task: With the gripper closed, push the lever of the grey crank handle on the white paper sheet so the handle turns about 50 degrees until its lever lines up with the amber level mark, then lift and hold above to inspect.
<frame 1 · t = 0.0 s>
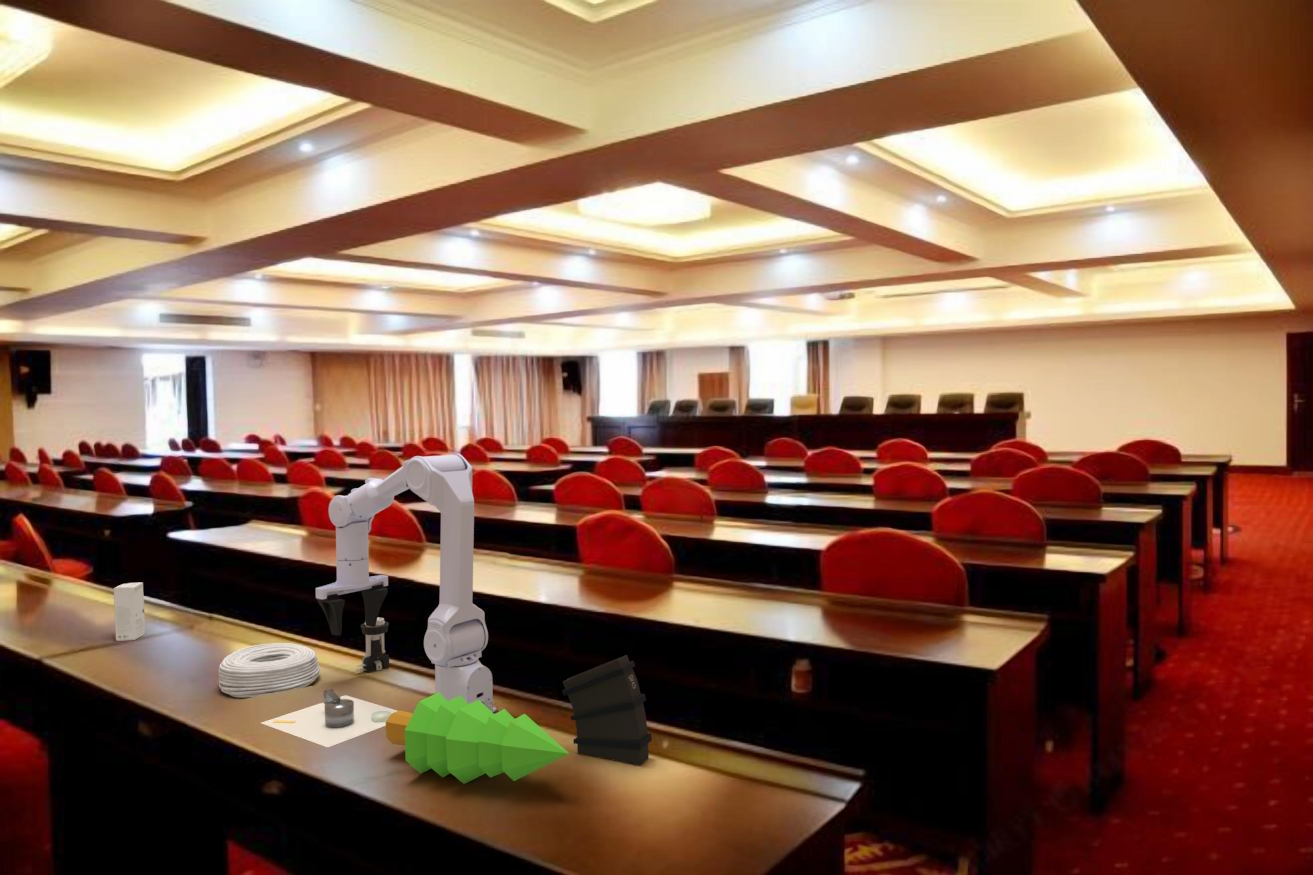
hand: (353, 630, 160), 10 cm above the table, fingers open, 7 cm apart
grey crank handle: (335, 707, 139), point 3 cm above the table, hinge at -50.0°
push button: (372, 670, 169), on the table
cable: (271, 686, 161), on the table
magazine: (606, 755, 127), on the table
white paper sheet: (337, 724, 139), on the table
skincare box: (130, 638, 194), on the table
decorative tree: (474, 781, 119), on the table
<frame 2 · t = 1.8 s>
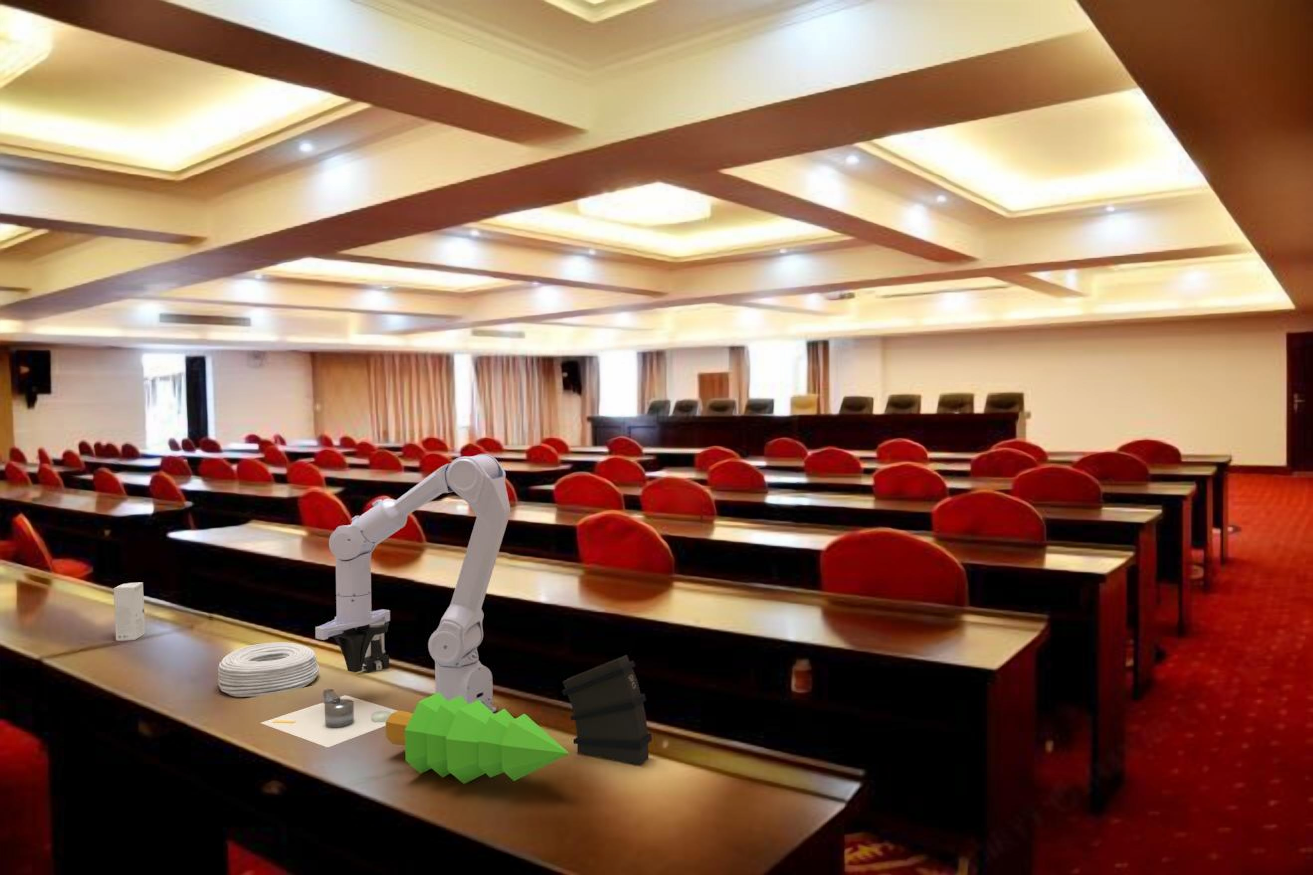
hand: (354, 670, 148), 6 cm above the table, fingers closed
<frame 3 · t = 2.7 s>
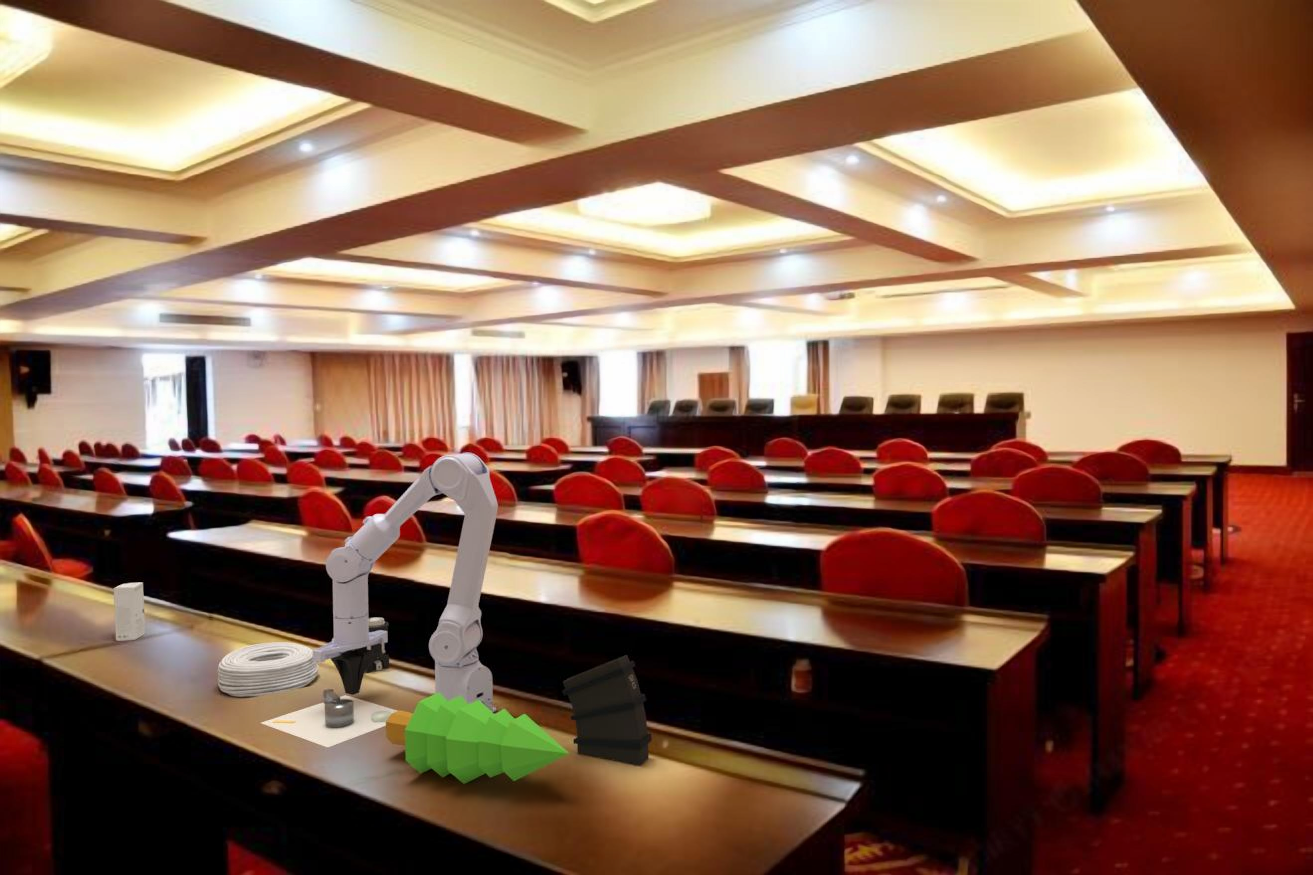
hand: (352, 692, 147), 3 cm above the table, fingers closed
nothing on the table moved.
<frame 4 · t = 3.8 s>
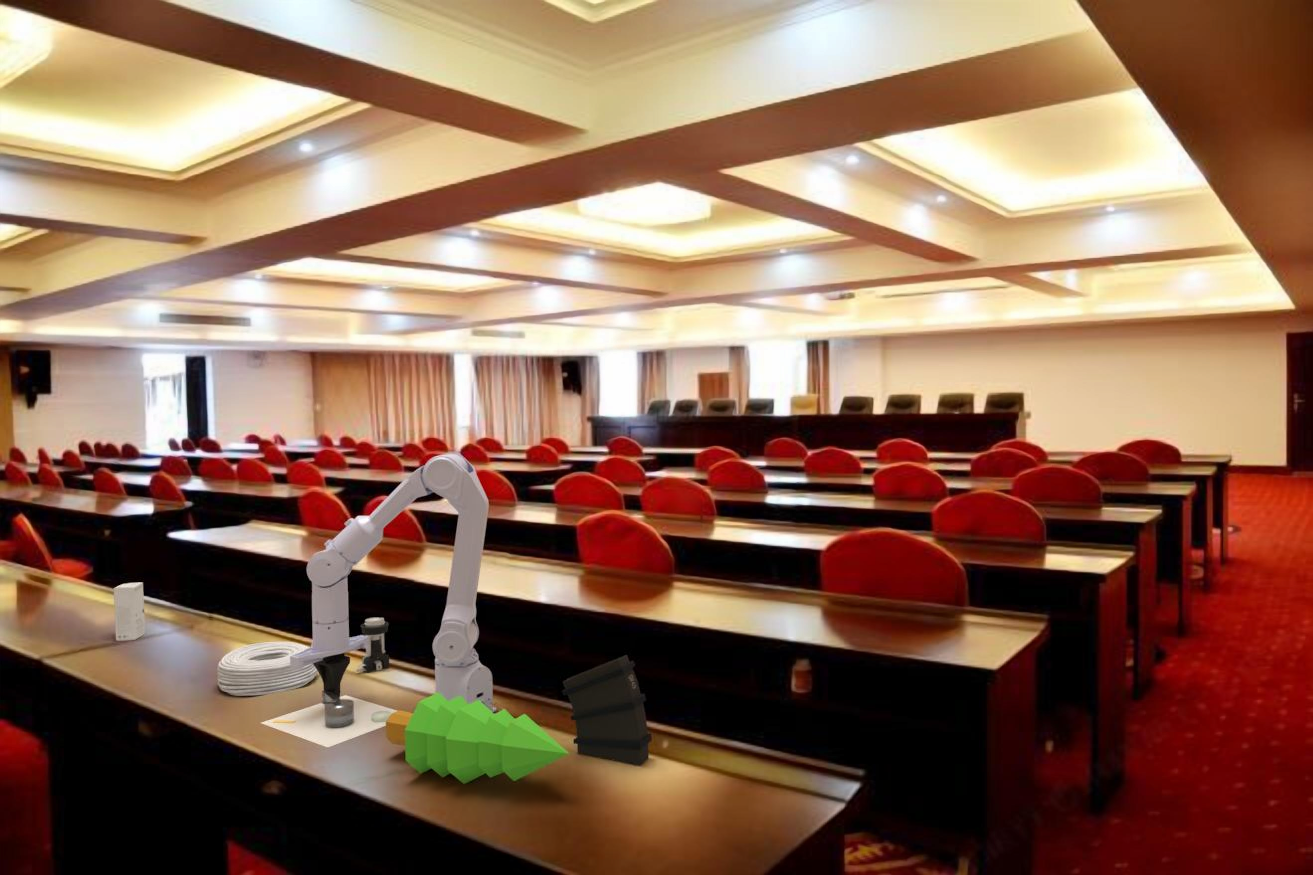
hand: (331, 699, 144), 3 cm above the table, fingers closed, pressing on grey crank handle
grey crank handle: (334, 707, 139), point 3 cm above the table, hinge at -48.2°, touching gripper
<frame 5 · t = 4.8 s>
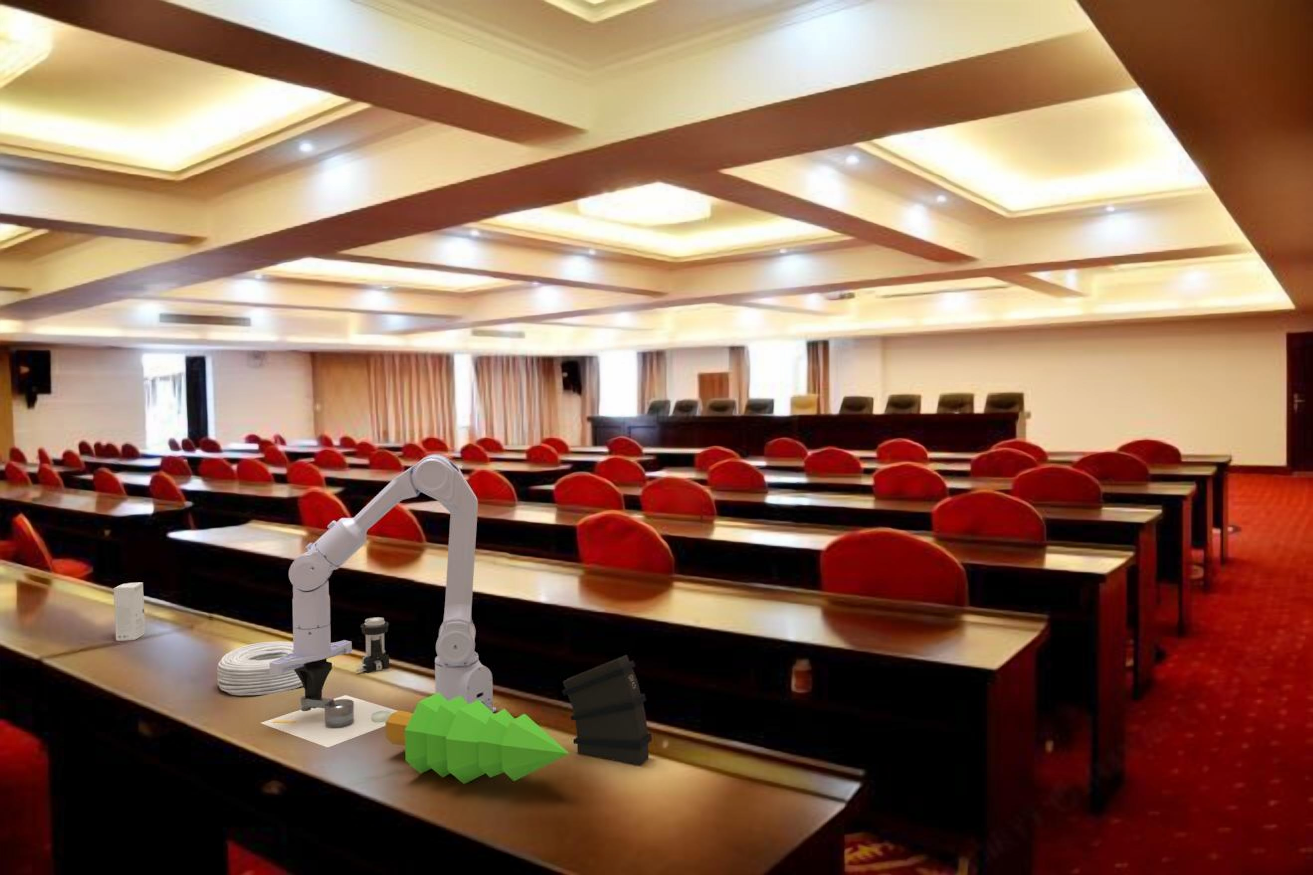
hand: (313, 706, 141), 3 cm above the table, fingers closed, pressing on grey crank handle
grey crank handle: (326, 710, 138), point 3 cm above the table, hinge at -13.5°, touching gripper
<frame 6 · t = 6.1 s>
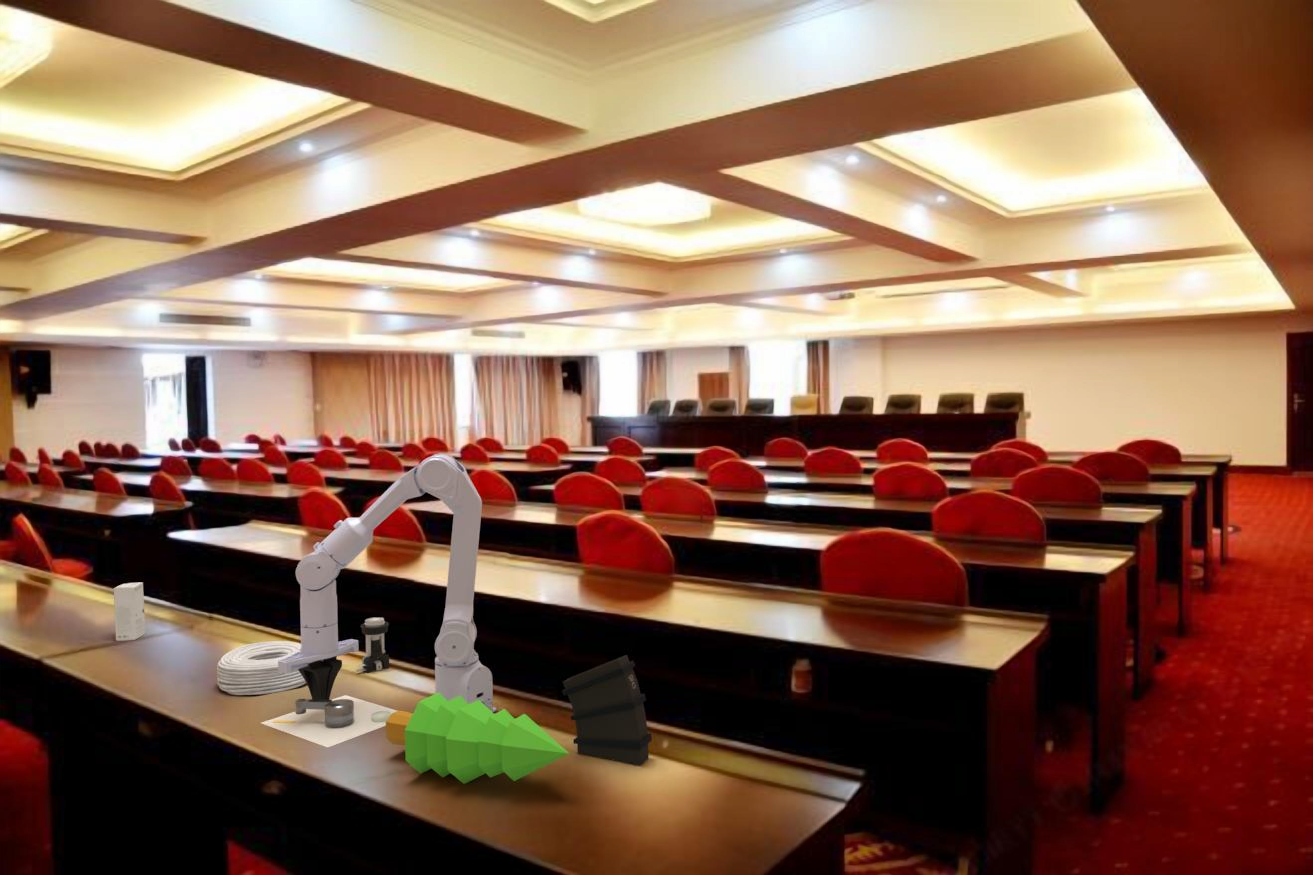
hand: (320, 704, 142), 3 cm above the table, fingers closed
grey crank handle: (324, 711, 138), point 3 cm above the table, hinge at -0.9°
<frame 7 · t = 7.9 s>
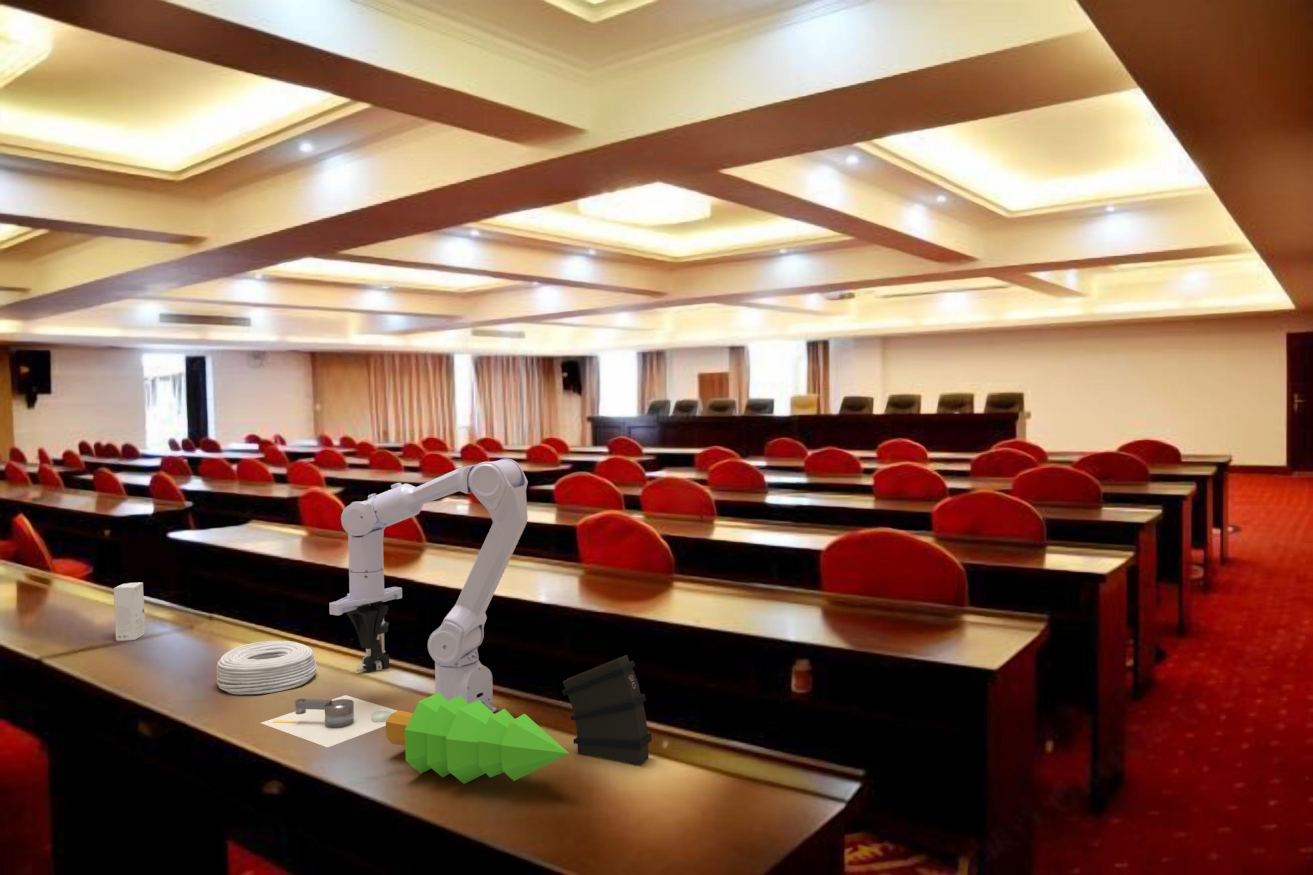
hand: (368, 647, 148), 10 cm above the table, fingers closed
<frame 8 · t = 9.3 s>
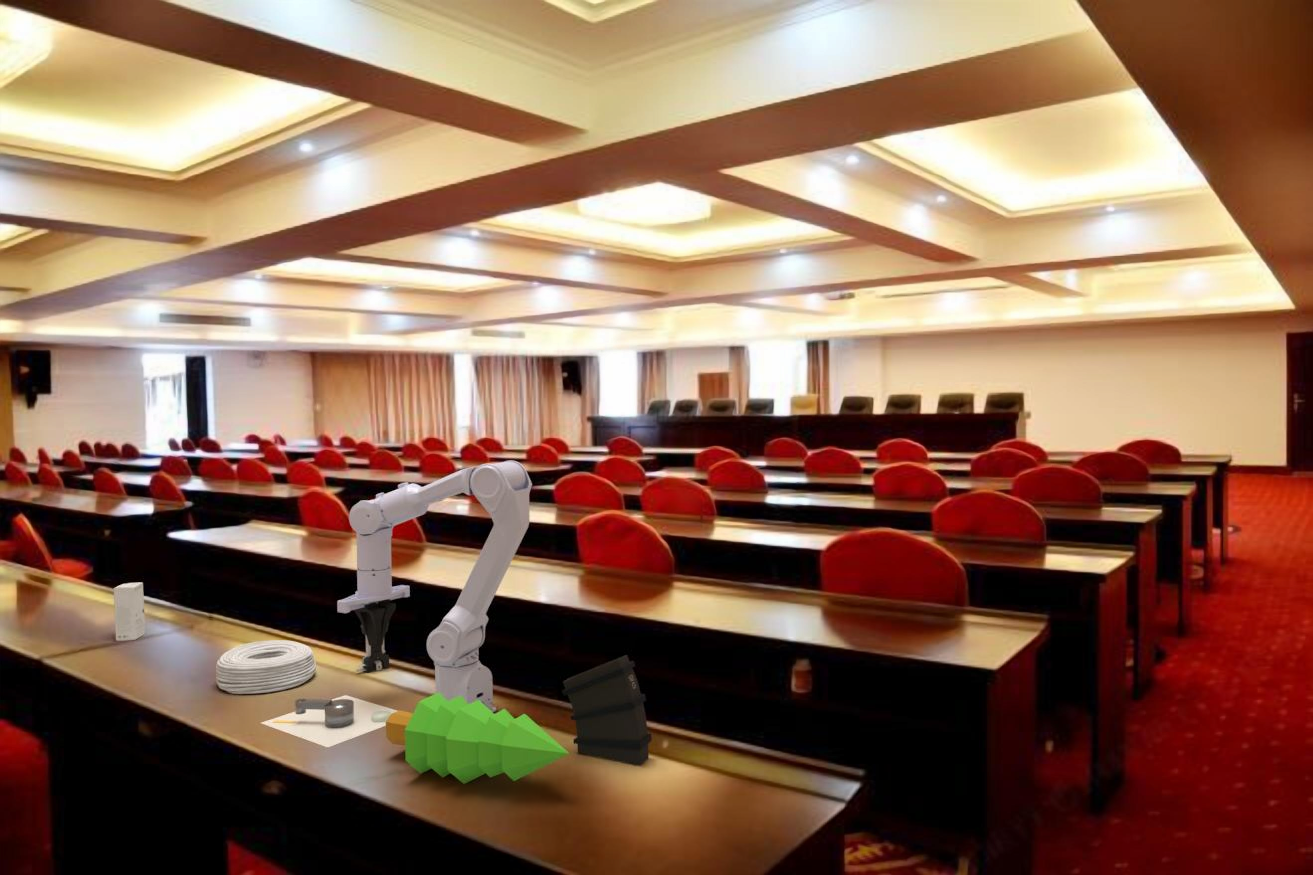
hand: (375, 645, 149), 10 cm above the table, fingers closed
at the end: grey crank handle at -1° (first picture: -50°); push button moved 0.2 cm from its start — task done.
